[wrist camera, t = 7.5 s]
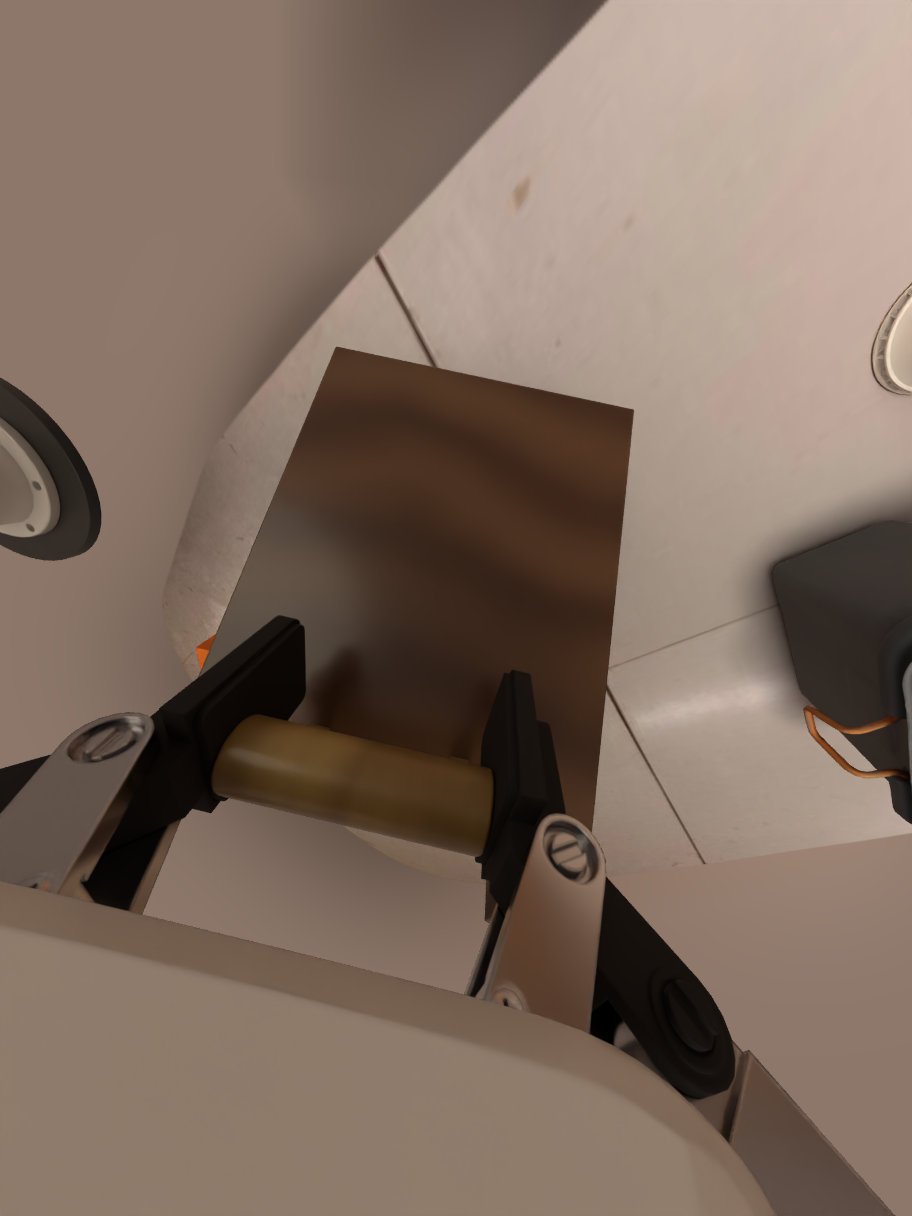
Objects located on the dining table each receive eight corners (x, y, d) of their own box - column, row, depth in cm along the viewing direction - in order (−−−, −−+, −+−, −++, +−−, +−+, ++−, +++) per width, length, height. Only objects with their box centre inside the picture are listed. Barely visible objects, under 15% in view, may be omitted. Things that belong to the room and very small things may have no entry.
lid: (578, 871, 12) (697, 1029, 6) (172, 774, 12) (-58, 844, 6) (625, 422, 16) (715, 289, 11) (340, 361, 17) (291, 203, 11)
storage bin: (937, 673, 32) (1225, 826, 19) (755, 723, 37) (889, 870, 24) (923, 472, 25) (1362, 504, 12) (702, 568, 30) (850, 661, 17)
